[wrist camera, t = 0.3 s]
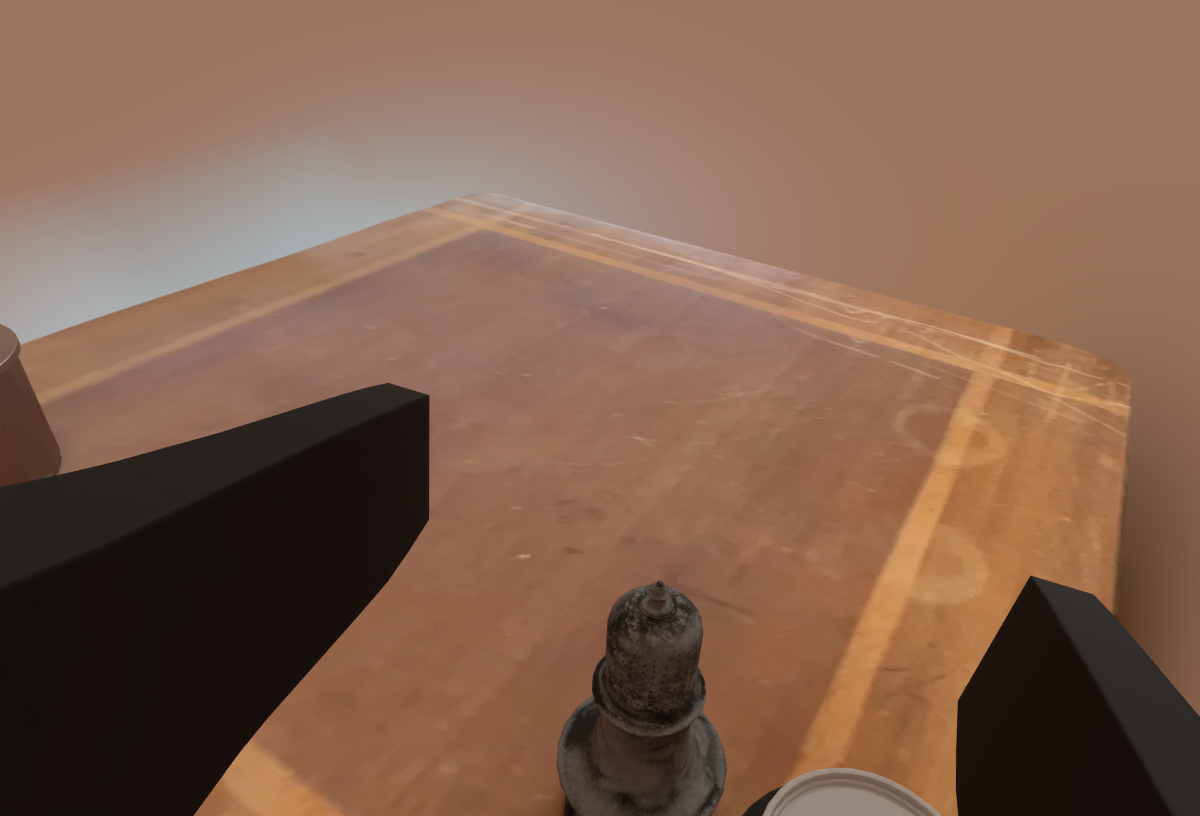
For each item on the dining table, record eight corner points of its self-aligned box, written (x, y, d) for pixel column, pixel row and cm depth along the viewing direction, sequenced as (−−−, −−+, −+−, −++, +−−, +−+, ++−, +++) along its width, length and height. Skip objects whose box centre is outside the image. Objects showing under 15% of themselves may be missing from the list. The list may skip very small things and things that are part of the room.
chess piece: (732, 889, 25) (793, 659, 19) (561, 907, 24) (563, 676, 18) (695, 733, 30) (733, 509, 24) (552, 745, 29) (551, 518, 23)
